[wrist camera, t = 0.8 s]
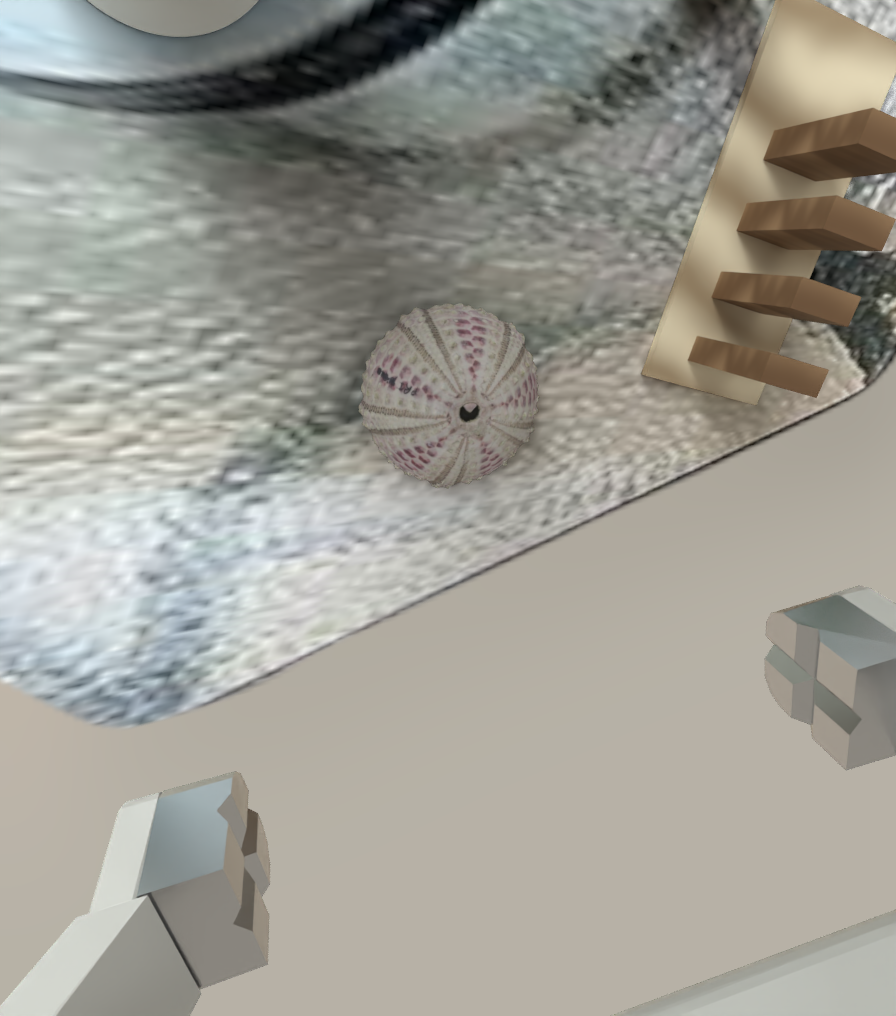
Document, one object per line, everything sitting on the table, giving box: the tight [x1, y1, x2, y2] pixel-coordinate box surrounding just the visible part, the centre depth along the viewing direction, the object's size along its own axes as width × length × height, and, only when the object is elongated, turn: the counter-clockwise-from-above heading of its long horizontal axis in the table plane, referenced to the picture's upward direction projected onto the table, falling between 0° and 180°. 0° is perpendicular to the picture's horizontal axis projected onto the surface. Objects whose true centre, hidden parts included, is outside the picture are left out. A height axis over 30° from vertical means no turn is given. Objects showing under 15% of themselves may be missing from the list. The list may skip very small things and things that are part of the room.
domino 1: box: [763, 108, 896, 182], centre depth 45 cm, size 2×5×9 cm, turn 75°
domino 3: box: [711, 271, 861, 327], centre depth 48 cm, size 2×5×9 cm, turn 75°
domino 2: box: [736, 195, 896, 251], centre depth 47 cm, size 2×5×9 cm, turn 75°
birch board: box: [641, 0, 896, 406], centre depth 51 cm, size 27×11×1 cm, turn 165°
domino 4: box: [688, 336, 829, 398], centre depth 50 cm, size 2×5×9 cm, turn 75°
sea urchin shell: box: [359, 303, 540, 488], centre depth 47 cm, size 13×14×8 cm
